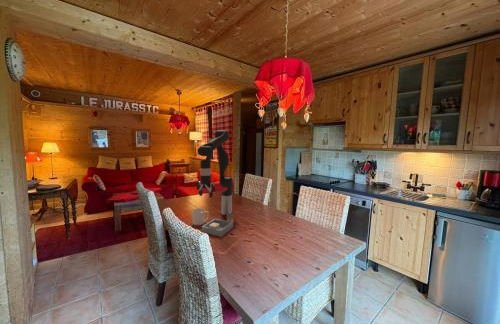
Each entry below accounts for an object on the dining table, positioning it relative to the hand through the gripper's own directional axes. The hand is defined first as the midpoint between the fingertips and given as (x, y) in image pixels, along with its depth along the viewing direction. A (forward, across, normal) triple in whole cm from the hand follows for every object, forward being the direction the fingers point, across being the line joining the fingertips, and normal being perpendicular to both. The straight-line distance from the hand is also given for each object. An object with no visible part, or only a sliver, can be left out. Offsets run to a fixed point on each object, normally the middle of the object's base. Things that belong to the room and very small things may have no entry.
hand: (205, 196), depth 147 cm
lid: (+19, -9, +2) cm, 21 cm away
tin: (+26, -11, -16) cm, 32 cm away
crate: (+25, -9, -2) cm, 27 cm away
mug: (+26, +10, -7) cm, 28 cm away
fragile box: (+24, -9, +2) cm, 26 cm away
